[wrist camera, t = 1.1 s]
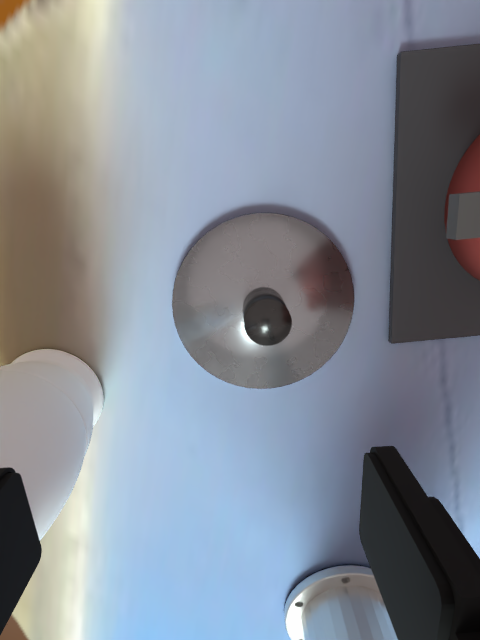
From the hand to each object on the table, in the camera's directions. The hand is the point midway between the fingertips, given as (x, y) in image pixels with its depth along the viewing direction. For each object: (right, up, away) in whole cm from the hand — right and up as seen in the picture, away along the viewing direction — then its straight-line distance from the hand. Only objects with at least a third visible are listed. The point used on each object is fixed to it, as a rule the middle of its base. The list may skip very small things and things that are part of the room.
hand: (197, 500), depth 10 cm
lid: (+3, +6, +19) cm, 21 cm away
